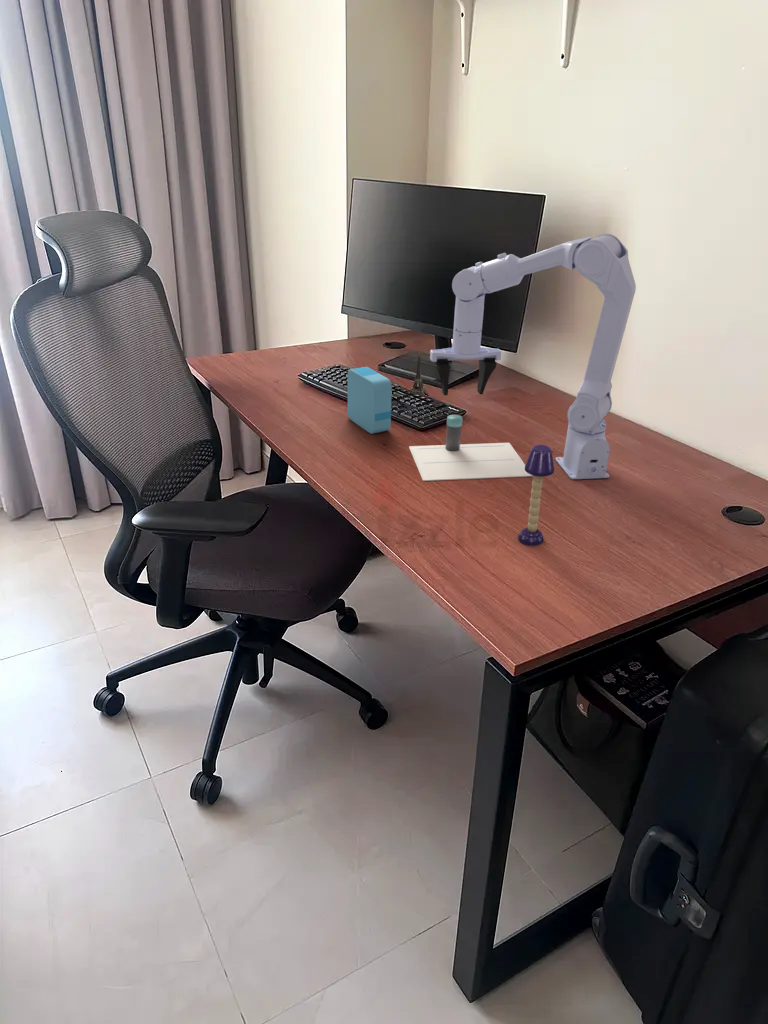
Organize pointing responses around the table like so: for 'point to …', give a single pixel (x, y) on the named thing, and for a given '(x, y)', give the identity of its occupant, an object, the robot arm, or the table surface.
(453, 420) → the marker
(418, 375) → the eiffel tower figurine
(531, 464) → the toy lamp
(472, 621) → the table surface
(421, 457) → the paper
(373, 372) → the light blue block
